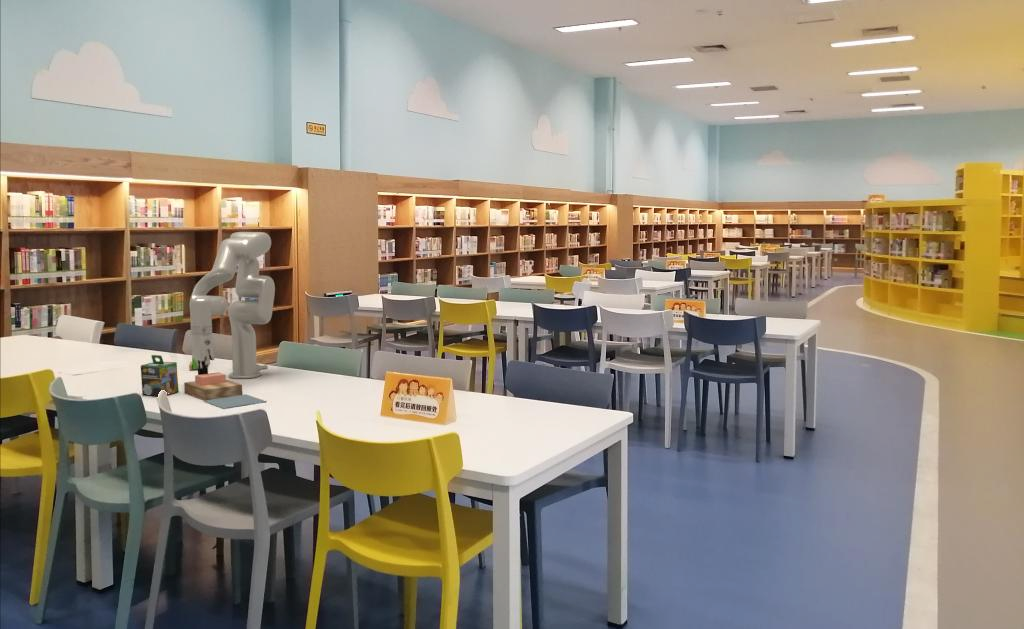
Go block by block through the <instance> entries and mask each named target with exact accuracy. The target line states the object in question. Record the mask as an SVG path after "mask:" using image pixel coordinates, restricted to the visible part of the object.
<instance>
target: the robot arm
mask: <svg viewBox="0 0 1024 629" xmlns="http://www.w3.org/2000/svg"><path fill="white" fill-rule="evenodd" d="M271 246H272V239H271V237H270V235H269V234H268V233H267V232H263V231H238V232H233V233H231V234H230V235H229V238H225V239H224V240H221V243H220V245H219V248H218V251H217V254H216V257H215V261H214V262H213V266H212V269H211V270H210V271H208V272H207V273H206V274H205V275H204V276H202V277H201V279H199V281H198V282H197V283H196V284H195V285H194V287H193V291H192V293H191V296H190V299H189V312H190V314H189V316H190V317H189V318H190V320H189V321H190V335H191V358H192V357H193V358H194V359H195V361H196V362H197V368H198V369H197V375H202V374H209V366H208V365H211V361H214V360H215V346H214V338H213V321H212V320H213V316H222V315H224V314H226V313H227V312H228V313H227V314H228V319H229V322H230V330H231V356H232V357H231V360H232V372H230V373H229V374H228V377H229V378H231V379H237V380H238V379H241V380H242V379H253V378H258V377H260V376H261V375H262V374H261V373H262V372H261V371H265V370H268V368H269V366H268V365H267V364H263V365H262V364H258V363H257V336H256V331H255V329H254V327H253V326H252V325H266V324H269V322H270V321H271V319H272V317H273V316H272V315H273V309H274V301H275V292H276V287H275V286H276V285H275V282H274V279H273V278H272V277H271V276H269V275H264V274H263V275H259V274H260V263H259V262H260V261H259V259H258V258H259V257H261V256H262V255H265V254H266V253H268V252H269V250H270V248H271ZM236 270H237V274H236ZM235 274H236V281H235V294H236V295H237V296H238V297H239V298H246V299H258V300H257V301H256V300H235V301H233V302H231V303H230V305H229V301H228V300H227V298H225V297H224V296H220V295H207V294H208V293H209V292H210V291H211V290H212V289H213V288H215V287H218V286H219V285H222V284H224V283H227V282H229V281H231V280H232V279H234V276H235Z"/></svg>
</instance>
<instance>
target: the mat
mask: <svg viewBox="0 0 1024 629" xmlns="http://www.w3.org/2000/svg"><path fill="white" fill-rule="evenodd" d="M202 401H203V403H206V404H209V405H212V406H213V407H214V406H215V407H216V408H217V407H218V408H219V409H223V410H225V409H226V410H227V409H233V408H238V407H245V406H250V404H252V405H256V404H255V403H258V404H260V403H259V402H263V401H264V399H261V398H258V397H255V396H252V395H249V394H245V393H244V394H242V395H237V396H231V397H224V398H218V399H211V400H202Z"/></svg>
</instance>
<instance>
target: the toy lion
mask: <svg viewBox="0 0 1024 629" xmlns="http://www.w3.org/2000/svg"><path fill="white" fill-rule="evenodd" d="M188 364H189V365H188V368H189V370H190V371H193V370H195V369H197V370H198V368H197V362H196V361H195V359H194V358H193V357H192V356H191V361H189V363H188ZM209 365H210V364H209ZM209 365H208V367H209Z"/></svg>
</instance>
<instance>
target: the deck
mask: <svg viewBox="0 0 1024 629" xmlns="http://www.w3.org/2000/svg"><path fill="white" fill-rule="evenodd" d="M183 386H184V394H186V395H189V396H192V397H193V398H197V399H200V400H202V401H205V400H211V399H218V398H224V397H231V396H237V395H243V384H241V383H238V382H235V381H231V380H228V379H226V382H225V383H218V384H211V385H204V386H202V385H199V384H196V383H195V380H193V381H187V382H186V381H185V382H183Z"/></svg>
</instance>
